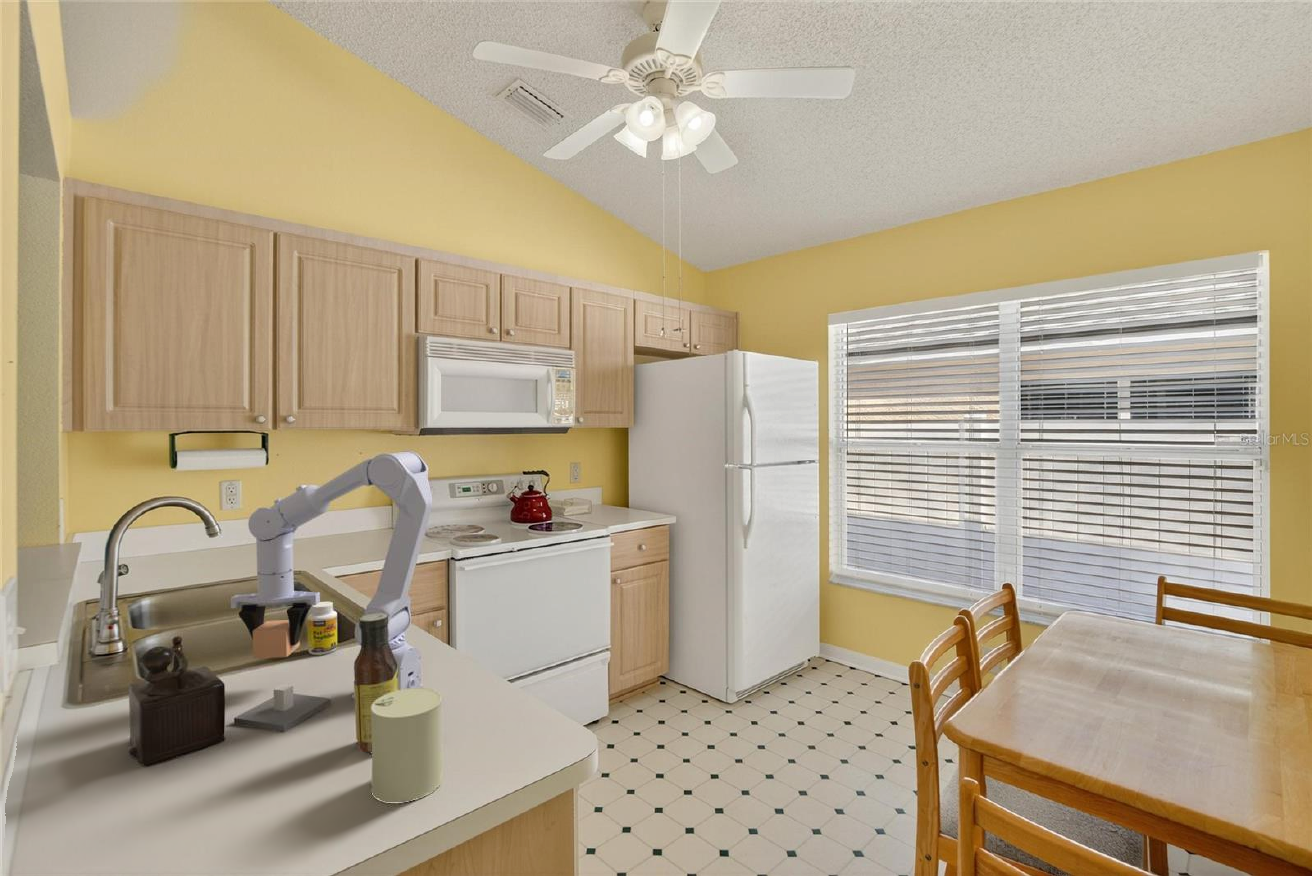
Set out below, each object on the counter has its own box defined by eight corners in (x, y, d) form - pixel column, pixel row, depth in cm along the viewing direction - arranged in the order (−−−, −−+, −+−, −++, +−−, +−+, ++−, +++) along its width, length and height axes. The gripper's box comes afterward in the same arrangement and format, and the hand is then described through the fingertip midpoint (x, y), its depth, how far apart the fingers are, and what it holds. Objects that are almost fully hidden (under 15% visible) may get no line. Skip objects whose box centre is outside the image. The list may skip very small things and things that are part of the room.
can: (384, 767, 92) (383, 685, 92) (449, 764, 93) (449, 683, 92) (360, 806, 83) (359, 715, 82) (433, 802, 84) (432, 712, 83)
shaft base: (330, 704, 112) (330, 678, 112) (284, 731, 102) (283, 704, 102) (283, 697, 114) (283, 672, 114) (234, 723, 104) (233, 696, 104)
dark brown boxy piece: (122, 745, 98) (119, 629, 97) (208, 719, 106) (205, 612, 105) (144, 784, 87) (141, 655, 87) (237, 753, 96) (235, 634, 95)
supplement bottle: (309, 658, 133) (308, 609, 132) (307, 649, 137) (306, 602, 137) (339, 652, 136) (338, 605, 135) (335, 644, 140) (335, 598, 140)
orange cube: (299, 645, 121) (299, 619, 120) (286, 656, 115) (286, 629, 115) (267, 647, 120) (267, 620, 120) (253, 658, 114) (252, 630, 114)
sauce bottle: (409, 740, 99) (407, 614, 99) (373, 759, 94) (371, 626, 93) (382, 730, 103) (380, 608, 102) (345, 747, 97) (344, 618, 97)
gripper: (325, 564, 122) (326, 635, 122) (243, 567, 120) (245, 638, 120) (310, 574, 115) (312, 648, 115) (223, 576, 113) (225, 652, 113)
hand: (277, 644), depth 117 cm, fingers closed on orange cube, 6 cm apart
